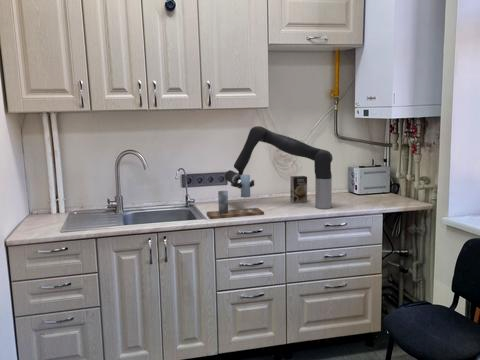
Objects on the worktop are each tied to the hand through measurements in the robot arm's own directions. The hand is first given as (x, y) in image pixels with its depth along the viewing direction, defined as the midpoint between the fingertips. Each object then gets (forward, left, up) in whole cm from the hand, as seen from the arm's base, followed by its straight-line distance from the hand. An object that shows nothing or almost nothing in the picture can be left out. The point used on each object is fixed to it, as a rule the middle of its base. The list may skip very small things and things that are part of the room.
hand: (246, 185), depth 239 cm
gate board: (+3, -6, -16) cm, 18 cm away
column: (-2, -2, -7) cm, 7 cm away
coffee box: (-45, +11, -16) cm, 49 cm away
